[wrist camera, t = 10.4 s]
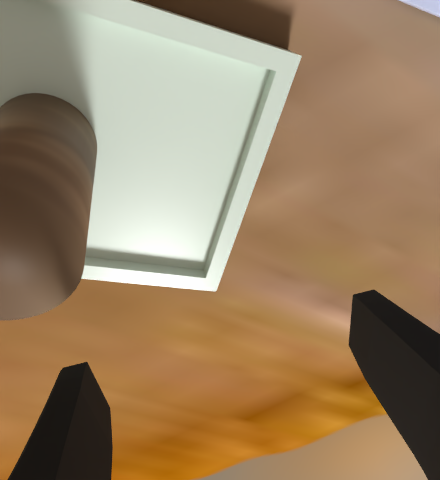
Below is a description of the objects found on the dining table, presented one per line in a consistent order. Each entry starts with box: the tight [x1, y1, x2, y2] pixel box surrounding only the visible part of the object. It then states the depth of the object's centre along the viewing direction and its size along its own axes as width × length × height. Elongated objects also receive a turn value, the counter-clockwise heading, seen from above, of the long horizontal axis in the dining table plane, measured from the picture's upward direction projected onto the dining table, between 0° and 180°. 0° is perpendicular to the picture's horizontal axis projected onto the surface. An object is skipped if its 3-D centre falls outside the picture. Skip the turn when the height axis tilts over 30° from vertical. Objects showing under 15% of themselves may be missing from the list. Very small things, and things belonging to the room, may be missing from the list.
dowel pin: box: [0, 93, 97, 320], centre depth 13 cm, size 4×4×8 cm
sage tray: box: [0, 0, 302, 291], centre depth 16 cm, size 18×12×2 cm, turn 73°
